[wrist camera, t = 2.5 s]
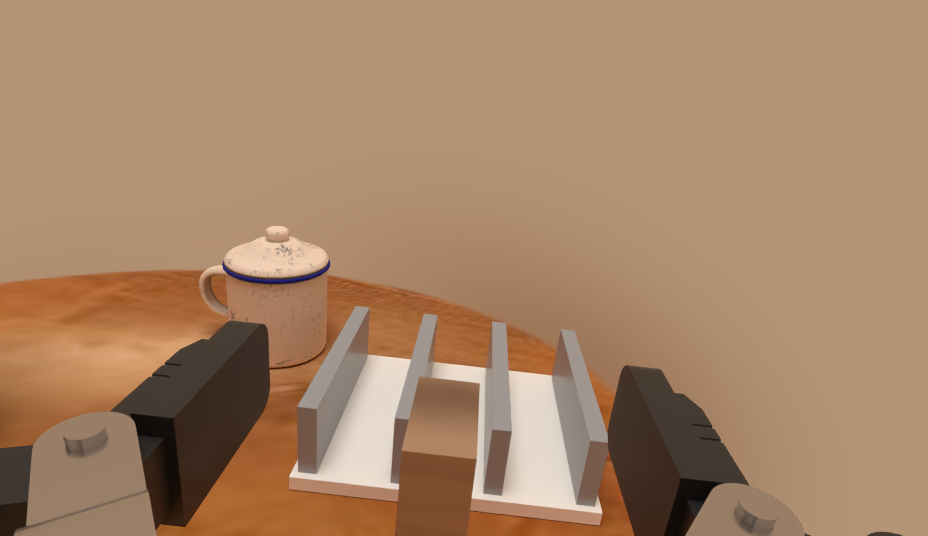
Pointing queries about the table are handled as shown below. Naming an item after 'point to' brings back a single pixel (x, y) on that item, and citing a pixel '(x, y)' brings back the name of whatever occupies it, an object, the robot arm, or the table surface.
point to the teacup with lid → (276, 293)
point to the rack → (499, 426)
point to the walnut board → (438, 459)
